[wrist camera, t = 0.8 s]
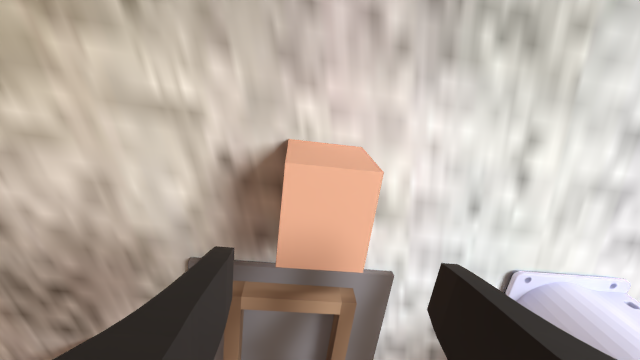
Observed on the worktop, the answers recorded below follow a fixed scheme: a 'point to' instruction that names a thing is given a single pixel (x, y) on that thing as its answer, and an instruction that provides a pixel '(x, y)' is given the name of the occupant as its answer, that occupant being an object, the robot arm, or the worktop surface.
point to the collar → (303, 313)
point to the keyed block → (327, 207)
